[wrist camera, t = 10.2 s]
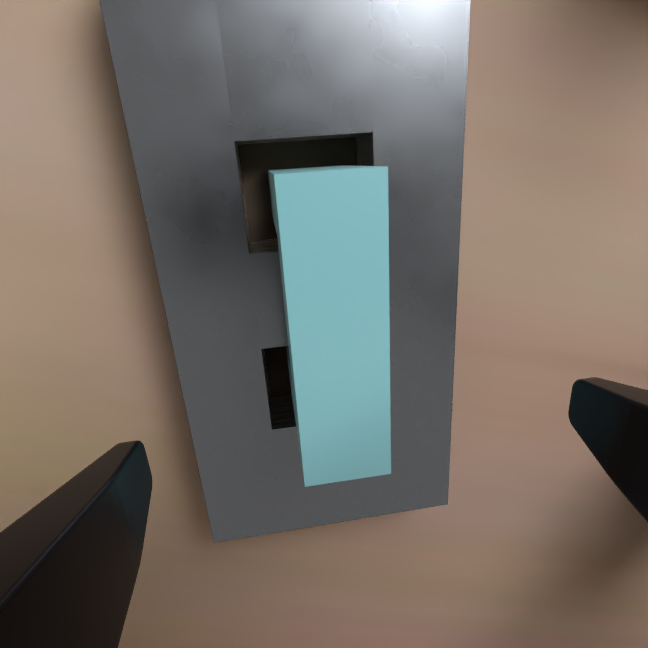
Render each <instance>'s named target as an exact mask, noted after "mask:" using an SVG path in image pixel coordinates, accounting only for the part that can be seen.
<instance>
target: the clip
mask: <svg viewBox="0 0 648 648" xmlns="http://www.w3.org/2000/svg"><path fill="white" fill-rule="evenodd" d="M268 178H269V187H270V197H271V207H272V216H273V221H274V225H275V229H276V233H277V238H278V248H279V258H280V268H281V278H282V288H283V298H284V307H285V317H286V327H287V337H288V346H286V352H287V361H288V371H289V380H290V387H291V394H292V401H293V408H294V415H295V422H296V429H297V435H298V442H299V449H300V456H301V463H302V470H303V477H304V484H305V487H307V486H314V485H320V484H327V483H333V482H340V481H347V480H353V479H360V478H366V477H373V476H380V475H386V474H391V419H390V314H389V208H388V166H346V165H334V166H320V167H305V168H291V169H276V170H268Z"/></svg>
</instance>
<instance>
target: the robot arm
mask: <svg viewBox="0 0 648 648" xmlns="http://www.w3.org/2000/svg"><path fill="white" fill-rule="evenodd" d="M568 414H569V420H570V422H571V424H572V426H573V427H574V429H575V430H576V431H577V433H578V434H579V436H580V437H581V438H582V440H583V441H584V442H585V444H586V445H587V447H588V448H589V449H590V451H591V452H592V454H593V455H594V456H595V458H596V459H597V461H598V462H599V463H600V465H601V466H602V467H603V469H604V470H605V472H606V473H607V474H608V476H609V477H610V478H611V480H612V481H613V482H614V484H615V485H616V486H617V487H618V488H619V490H620V491H621V492H622V493H623V494H624V496H625V497H626V498H627V499H628V500H629V501H630V502H631V504H632V505H633V506H634V507H635V508H636V509H637V511H638V512H639V513H640V514H641V515H642V516H643V517H644V519H645V520H646V521H647V522H648V390H645V389H641V388H637V387H633V386H629V385H625V384H621V383H617V382H613V381H609V380H605V379H601V378H596V377H592V378H585V379H579V380H577V381H575V382H574V384H573V387H572V393H571V399H570V405H569V412H568ZM151 491H152V475H151V471H150V467H149V463H148V459H147V455H146V452H145V448H144V445H143V443H142V442H141V441H130V442H123V443H119V444H117V445H115V446H114V447H113V448H111V449H110V450H109V451H107V452H106V453H105V454H104V455H102V456H101V457H100V458H98V459H97V460H96V461H94V462H93V463H92V464H90V465H89V466H88V467H86V468H85V469H84V470H82V471H81V472H80V473H78V474H77V475H76V476H74V477H73V478H72V479H70V480H69V481H68V482H66V483H65V484H64V485H63V486H61V487H60V488H59V489H57V490H56V491H55V492H53V493H52V494H51V495H49V496H48V497H47V498H45V499H44V500H43V501H41V502H40V503H39V504H37V505H36V506H35V507H33V508H32V509H31V510H29V511H28V512H27V513H25V514H24V515H23V516H21V517H20V518H19V519H18V520H16V521H15V522H14V523H12V524H11V525H10V526H8V527H7V528H6V529H4V530H3V531H2V532H0V648H118V644H119V641H120V637H121V633H122V630H123V626H124V622H125V619H126V615H127V611H128V608H129V604H130V600H131V597H132V593H133V589H134V586H135V582H136V578H137V574H138V570H139V566H140V561H141V556H142V550H143V543H144V537H145V530H146V524H147V517H148V511H149V504H150V497H151Z"/></svg>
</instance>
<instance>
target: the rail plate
mask: <svg viewBox="0 0 648 648" xmlns="http://www.w3.org/2000/svg"><path fill="white" fill-rule="evenodd" d="M100 4H101V9H102V14H103V19H104V23H105V28H106V33H107V37H108V42H109V47H110V52H111V56H112V61H113V66H114V71H115V75H116V80H117V85H118V90H119V94H120V99H121V104H122V109H123V113H124V118H125V123H126V128H127V132H128V137H129V142H130V147H131V151H132V156H133V161H134V165H135V170H136V175H137V180H138V184H139V189H140V194H141V199H142V203H143V208H144V213H145V218H146V222H147V227H148V232H149V237H150V241H151V246H152V251H153V256H154V260H155V265H156V270H157V275H158V279H159V284H160V289H161V293H162V298H163V303H164V308H165V312H166V317H167V322H168V327H169V331H170V336H171V341H172V346H173V350H174V355H175V360H176V365H177V369H178V374H179V379H180V384H181V388H182V393H183V398H184V403H185V407H186V412H187V417H188V421H189V426H190V431H191V436H192V440H193V445H194V450H195V455H196V459H197V464H198V469H199V474H200V478H201V483H202V488H203V493H204V497H205V502H206V507H207V512H208V516H209V521H210V526H211V531H212V535H213V540H214V543H216V542H222V541H228V540H234V539H240V538H246V537H252V536H258V535H264V534H270V533H276V532H282V531H289V530H295V529H301V528H307V527H313V526H319V525H325V524H331V523H337V522H343V521H349V520H355V519H361V518H367V517H373V516H379V515H385V514H391V513H397V512H403V511H409V510H416V509H422V508H428V507H434V506H440V505H446V504H448V487H449V464H450V442H451V420H452V398H453V376H454V354H455V332H456V309H457V287H458V265H459V243H460V221H461V199H462V177H463V154H464V132H465V110H466V88H467V66H468V44H469V22H470V0H100ZM346 137H356V155H357V166H388V208H389V314H390V419H391V474H386V475H380V476H373V477H366V478H360V479H353V480H347V481H340V482H333V483H327V484H320V485H314V486H307V487H305V484H304V477H303V470H302V463H301V456H300V449H299V442H298V435H297V429H296V422H295V415H294V408H293V401H292V394H285V395H277V396H270V391H269V383H268V375H267V368H266V360H265V352H264V349H265V348H273V347H282V346H288V337H287V327H286V317H285V307H284V298H283V288H282V278H281V268H280V258H279V248H278V239H267V240H256V241H250V235H249V227H248V219H247V212H246V204H245V196H244V188H243V180H242V173H241V165H240V157H239V149H238V145H242V144H256V143H271V142H286V141H301V140H316V139H331V138H346Z"/></svg>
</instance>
